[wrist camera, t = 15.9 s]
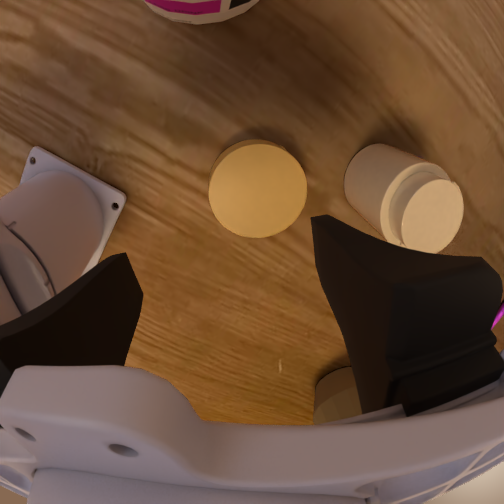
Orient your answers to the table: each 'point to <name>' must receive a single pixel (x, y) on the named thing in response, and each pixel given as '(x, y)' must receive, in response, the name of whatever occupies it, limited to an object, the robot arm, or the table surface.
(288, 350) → the table surface
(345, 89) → the table surface
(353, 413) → the squeeze bottle
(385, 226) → the jar
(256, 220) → the lid
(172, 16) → the supplement can
